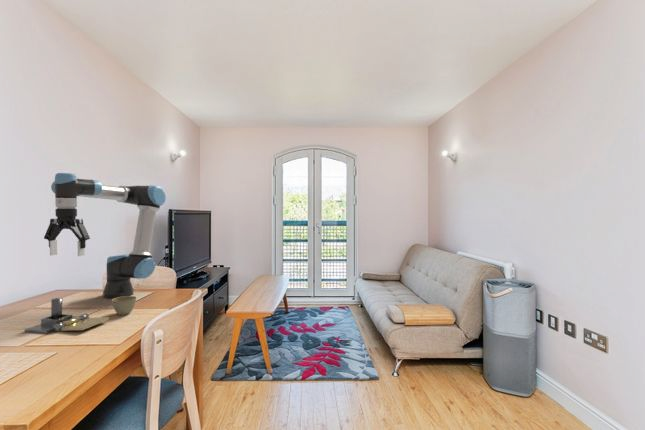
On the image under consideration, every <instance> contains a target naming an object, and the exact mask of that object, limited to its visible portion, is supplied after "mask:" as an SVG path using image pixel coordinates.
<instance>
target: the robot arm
mask: <svg viewBox="0 0 645 430" xmlns="http://www.w3.org/2000/svg"><path fill="white" fill-rule="evenodd" d="M50 186H51V187H50V189H51V191H52V193H54V197H55V202H54V205H55V217H56V218H50V219H49V224H48V227H47V230H46V232H45V233H44V237H43V239H44V240H47V241H48V247H49V256H55V255H56V256H57V255H58V240H56V239H57V237H58V236H59V235H60V233H61V232H62V231H63V230H69V231H71V232H72V233H73V234H74V236H75V237H76V238H77V257H81V256H85V249H86V241H87V240H90V239H91V238H90V235H89V232H88V231H87V228H86V226H85V224H84V220H83V218H77V216H78V209H77V207H78V201H77V199H78V197H83V198H90V199H91V198H92V199H103V200H111V201H112V200H113V201H116V202H119V203H122V204H123V203H124V204H130V205H136V207H137V208H138V209H139V211H138V217H137V218H138V219H137V223H136V229H135V235H134V236H135V237H134V241H133V248H132V251H131V252H129V253H128V254H127V253H125V254H119V255H118V254H117V255H110V256H108V257H107V259H106V283H105V285H104V289H103V291H102V298H107V299H114V298H117V297H123V296H133V295H134V292H135V291H134V288H133V284H132V281H131V279H137V280H139V279H141V280H142V279H147V278H149V277H151V275H152V274H153V273H154V271H155V269H156V262H155V259H153V255H152V253H151V246H152V240H153V234H154V233H153V232H154V228H155V221H156V220H155V219H156V215H157V214H156V213H157V212H159V210H160V208H161V206H163V205H164V204H165V202H166V198H167V196H166V193H165V191H164V189H163V188H162V187H161V186H158V185H152V184H151V185H131V186H130V185H129V186H128V185H127V186H126V185H118V186H114V185H113V186H112V185H105V184H102V183H101V182H100V181H99V180H95V179H86V178H85V179H84V178H82V179H81V178H77V175H76V174H75V173H70V172H69V173H68V172H58V173H55V176H54V181H53V182H52V183H51V185H50Z"/></svg>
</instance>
